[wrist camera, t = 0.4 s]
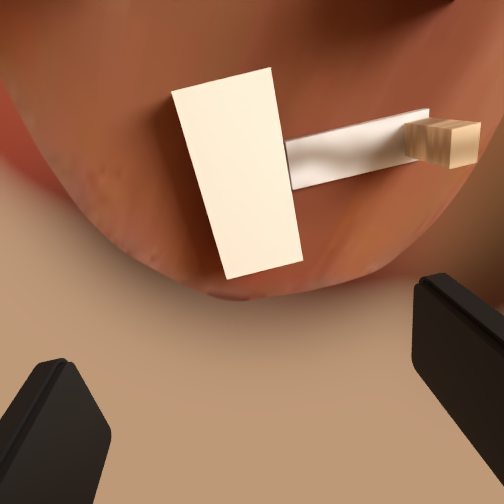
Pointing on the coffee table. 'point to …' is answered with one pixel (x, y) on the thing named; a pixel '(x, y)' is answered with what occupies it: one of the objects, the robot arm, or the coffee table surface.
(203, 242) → the coffee table surface
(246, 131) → the cream flanged plate
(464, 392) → the robot arm
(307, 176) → the white-handled mallet
